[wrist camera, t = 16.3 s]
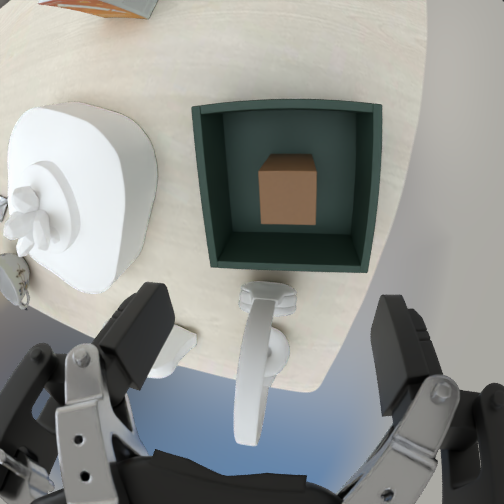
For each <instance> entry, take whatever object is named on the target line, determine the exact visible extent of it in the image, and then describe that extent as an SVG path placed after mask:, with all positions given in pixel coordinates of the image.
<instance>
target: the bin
mask: <svg viewBox="0 0 504 504" xmlns="http://www.w3.org/2000/svg"><path fill="white" fill-rule="evenodd" d="M191 109H192V120H193V131H194V141H195V151H196V161H197V170H198V178H199V187H200V195H201V203H202V210H203V218H204V225H205V232H206V239H207V246H208V253H209V259H210V266H211V267H214V268H232V269H256V270H282V271H311V272H347V273H367V272H368V267H369V261H370V255H371V249H372V243H373V236H374V229H375V222H376V213H377V205H378V195H379V184H380V171H381V153H382V105H381V104H372V103H364V102H353V101H340V100H321V99H269V100H250V101H236V102H226V103H216V104H208V105H201V106H193V107H192V108H191ZM270 154H312V157H313V160H314V164H315V167H316V171H317V199H316V225H294V224H261V214H260V195H259V177H258V171H259V170H260V168H261V167H262V165H263V164H264V162H265V161H266V160H267V158H268V157H269V155H270Z"/></svg>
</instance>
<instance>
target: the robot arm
mask: <svg viewBox="0 0 504 504" xmlns="http://www.w3.org/2000/svg"><path fill="white" fill-rule="evenodd" d="M174 322H175V314H174V310H173V307H172V304H171V300H170V297H169V293H168V290H167V287H166V285H165V284H163V283H153V282H146V283H144V284H143V286H142V287H141V288H140V289H139V291H138V292H137V293H134V294H133V295H131V296H130V297H128V298H127V299H126V300H124V301H123V303H122V304H121V305H120V307H119V308H118V311H116V312H115V313H114V314H113V315H112V318H110V319H109V321H108V322H107V323H106V325H105V326H104V327H103V329H102V330H101V331H100V333H99V334H98V335H97V337H96V338H95V339H94V341H93V342H92V343H91V344H90V343H84V344H80V345H78V346H76V347H74V348H73V349H72V350H71V351H70V352H69V353H68V354H55V353H54V352H53V351H52V349H51V347H50V346H49V345H48V344H46V343H39V344H37V345H35V346H33V347H32V348H31V349H30V350H29V351H28V352H27V354H26V355H25V356H24V358H23V359H22V360H21V362H20V363H19V365H18V366H17V368H16V369H15V371H14V372H13V374H12V375H11V376H10V378H9V379H8V381H7V383H6V384H5V386H4V387H3V389H2V390H1V392H0V497H1V498H2V499H3V500H4V501H5V502H6V503H7V504H415V503H416V501H417V500H418V498H419V497H420V495H421V494H422V492H423V490H424V489H425V487H426V486H427V484H428V482H429V480H430V479H431V477H432V475H433V473H434V472H435V469H436V467H437V464H438V461H437V460H436V459H435V457H436V454H437V452H438V450H439V449H441V459H442V483H443V484H442V495H443V496H442V497H443V498H442V504H504V386H503V385H501V384H498V383H491V384H489V385H487V386H486V387H485V388H484V389H483V391H482V392H481V393H477V392H470V391H463V390H459V388H458V385H457V384H456V383H455V381H454V380H452V379H451V378H449V377H448V376H445V375H443V373H442V370H441V367H440V364H439V361H438V358H437V355H436V352H435V349H434V347H433V344H432V341H431V340H430V336H429V333H428V332H427V331H426V330H427V328H426V326H425V323H424V321H423V319H422V317H421V316H420V315H419V314H418V313H417V312H416V311H415V310H414V309H408V308H407V306H406V303H405V301H404V299H403V297H402V295H381V297H380V300H379V303H378V306H377V310H376V313H375V317H374V320H373V324H372V328H371V345H372V351H373V356H374V362H375V368H376V375H377V381H378V388H379V395H380V404H381V413H382V416H392V418H393V424H392V425H391V426H390V428H389V429H388V431H387V432H386V434H385V435H384V437H383V438H382V440H381V441H380V443H379V444H378V445H377V447H376V448H375V449H374V451H373V452H372V453H371V455H370V456H369V457H368V459H367V460H366V461H365V462H364V464H363V465H362V466H361V467H360V468H359V470H358V471H357V472H356V473H355V474H354V475H353V476H352V477H351V478H350V479H349V480H348V481H347V482H346V484H345V485H344V486H343V487H342V488H341V489H340V490H339V491H338V492H337V493H336V494H334V493H333V492H331V491H330V490H328V489H326V488H324V487H322V486H319V485H317V484H314V483H310V482H306V478H307V476H306V475H288V474H273V473H262V474H251V475H237V476H225V475H221V474H218V473H216V472H214V471H212V470H210V469H207V468H206V467H204V466H202V465H200V464H198V463H196V462H194V461H192V460H190V459H187V458H183V457H180V456H176V455H172V454H169V453H166V452H163V451H160V450H157V449H155V451H154V454H153V456H149V454H148V452H147V450H146V448H145V446H144V444H143V443H142V441H141V440H140V438H139V435H138V432H137V429H136V425H135V421H134V417H133V414H132V410H131V405H130V401H129V397H128V395H127V393H126V392H127V390H128V389H129V387H130V388H133V389H136V390H141V388H142V386H143V384H144V382H145V380H146V378H147V376H148V374H149V372H150V370H151V368H152V366H153V365H154V363H155V361H156V359H157V357H158V355H159V353H160V351H161V349H162V348H163V346H164V344H165V342H166V340H167V338H168V336H169V334H170V333H171V331H172V329H173V326H174ZM43 388H45V389H46V391H47V392H48V393H49V394H50V395H51V396H50V397H49V399H48V401H47V403H46V405H45V406H44V408H43V410H42V412H41V413H40V415H39V417H38V419H37V420H35V419H34V418H33V416H32V413H31V412H32V407H33V405H34V403H35V401H36V400H37V398H38V396H39V395H40V393H41V391H42V390H43ZM478 444H479V449H478ZM479 452H480V457H479ZM57 455H58V456H59V462H60V470H61V476H62V482H63V487H64V488H63V489H61V490H58V491H55V492H53V493H50V494H48V491H49V492H52V491H53V490H54V483H53V482H52V481H51V480H50V479H49V474H50V472H51V469H52V467H53V465H54V462H55V460H56V458H57ZM480 460H481V466H480Z"/></svg>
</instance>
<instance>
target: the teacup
mask: <svg viewBox="0 0 504 504" xmlns="http://www.w3.org/2000/svg"><path fill="white" fill-rule="evenodd" d="M29 275H30V271H29V267H28V265H27V263H26V261H25V260H24V259H23V258H22V257H18V255H15V254H11V253H4V254H0V291H1V292H2V294H3V295H4V296H5V297H6V298H7V299H8V300H9V301H11V302H12V304H14V305H19V307H20V308H21V309H25V308H26V307H27V306H28V304H29V301H30V296H29V293H28V290H27V288H28V284H29ZM25 294H26V295H27V303H26V305H22V303H21V300H22V299H23V297H24V296H25Z"/></svg>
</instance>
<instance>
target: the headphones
mask: <svg viewBox="0 0 504 504" xmlns="http://www.w3.org/2000/svg"><path fill="white" fill-rule="evenodd" d="M241 289H242V290H241V292H240V300H239V302H238V305H239V307H240V309H242V310H243V311H245V312H247V313H249V316H248V319H247V323H246V327H245V331H244V336H243V341H242V345H241V351H240V357H239V363H238V370H237V377H236V390H235V404H234V435H235V440H236V442H237V443H239V444H243V445H249V446H257V444H258V442H259V439H260V435H261V430H262V425H263V420H264V414H265V408H266V402H267V395H268V389H269V387H271V385H272V383H273V381H274V379H275V377H276V375H277V374H278V373H279V372H280V371H281V370H282V369H283V368H284V367H285V365H286V364H287V362H288V359H289V356H290V346H289V342H288V340H287V338H286V336H285V335H284V334H283V333H282V332H281V331H280V330H278V329H276V328H273V327H271V326H272V320H273V317H278V316H287V315H290V314H293V313H294V312H295V311H296V301H297V296H296V295H295V294H296V293H297V291H296V290H295V289H294V288H292V287H291V286H289V285H287V284H283V283H276V282H266V281H253V282H248V283H247V284H244V285H242V286H241Z"/></svg>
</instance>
